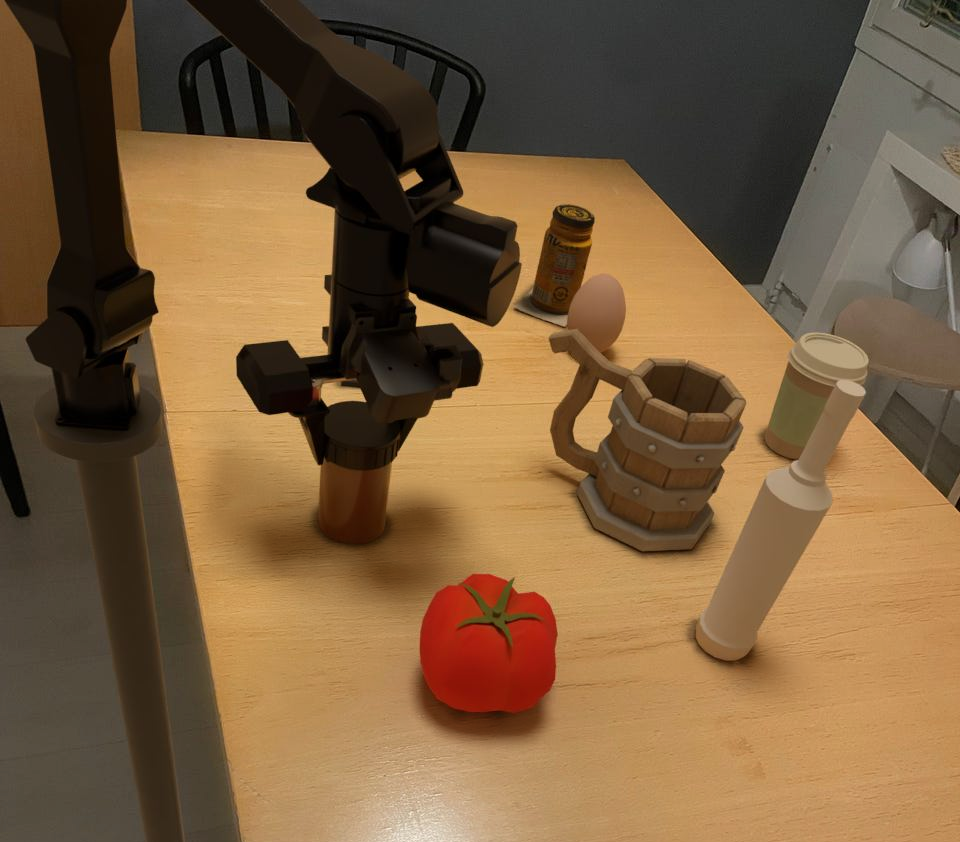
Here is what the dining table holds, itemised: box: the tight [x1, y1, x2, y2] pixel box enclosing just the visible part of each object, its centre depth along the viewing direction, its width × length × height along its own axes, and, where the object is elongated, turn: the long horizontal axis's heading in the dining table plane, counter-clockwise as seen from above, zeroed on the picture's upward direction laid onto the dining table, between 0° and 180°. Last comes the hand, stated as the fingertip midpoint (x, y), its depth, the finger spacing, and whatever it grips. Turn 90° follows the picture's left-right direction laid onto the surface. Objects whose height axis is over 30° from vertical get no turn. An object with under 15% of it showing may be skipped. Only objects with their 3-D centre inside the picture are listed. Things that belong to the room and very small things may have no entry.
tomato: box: [419, 573, 558, 714], centre depth 68 cm, size 11×11×9 cm
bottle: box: [695, 380, 867, 662], centre depth 70 cm, size 5×5×25 cm
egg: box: [566, 273, 627, 353], centre depth 108 cm, size 7×7×10 cm
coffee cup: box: [764, 332, 869, 460], centre depth 100 cm, size 8×8×12 cm
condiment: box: [512, 203, 596, 328], centre depth 115 cm, size 7×8×12 cm
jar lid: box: [324, 400, 401, 470], centre depth 75 cm, size 7×7×2 cm
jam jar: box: [317, 457, 393, 545], centre depth 78 cm, size 6×6×10 cm
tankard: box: [548, 329, 747, 552], centre depth 86 cm, size 20×13×15 cm, turn 59°
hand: (356, 455), depth 77 cm, fingers closed on jar lid, 6 cm apart
